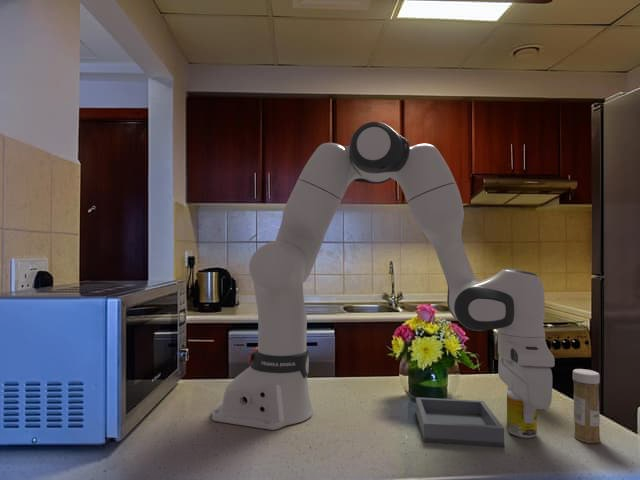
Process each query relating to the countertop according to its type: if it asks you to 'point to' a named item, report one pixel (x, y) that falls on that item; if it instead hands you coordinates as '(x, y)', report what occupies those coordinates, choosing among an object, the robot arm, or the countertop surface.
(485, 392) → the countertop surface
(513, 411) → the supplement bottle
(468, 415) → the tray
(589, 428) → the spice jar
